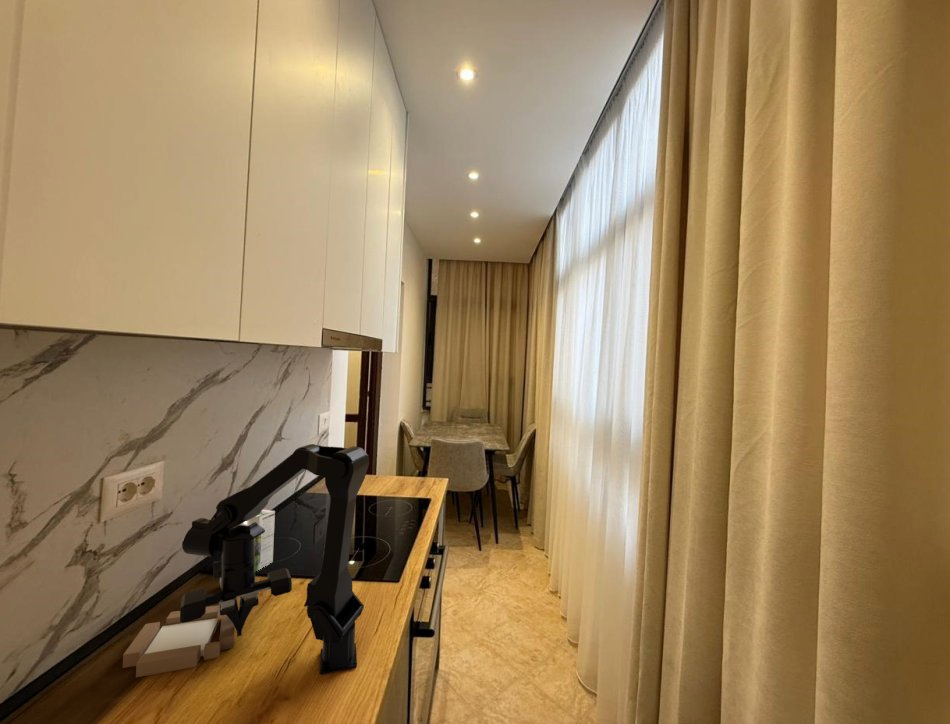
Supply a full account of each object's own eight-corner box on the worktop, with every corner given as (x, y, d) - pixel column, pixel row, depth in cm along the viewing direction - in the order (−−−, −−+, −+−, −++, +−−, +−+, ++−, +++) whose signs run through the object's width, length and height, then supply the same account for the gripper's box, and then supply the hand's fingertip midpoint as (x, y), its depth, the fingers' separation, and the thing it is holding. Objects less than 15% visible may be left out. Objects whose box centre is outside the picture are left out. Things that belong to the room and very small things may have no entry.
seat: (216, 663, 75) (216, 650, 75) (113, 681, 70) (113, 667, 70) (236, 613, 89) (236, 602, 89) (152, 626, 84) (152, 614, 84)
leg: (222, 617, 88) (222, 601, 88) (235, 614, 89) (235, 599, 89) (219, 652, 77) (219, 634, 77) (233, 648, 78) (234, 630, 79)
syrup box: (239, 568, 108) (241, 514, 109) (257, 558, 114) (259, 507, 114) (256, 572, 107) (258, 517, 107) (273, 562, 112) (275, 509, 113)
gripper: (284, 531, 92) (284, 599, 93) (183, 552, 82) (184, 628, 83) (292, 551, 83) (292, 626, 83) (179, 578, 73) (180, 664, 73)
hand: (239, 635), depth 81 cm, fingers closed
